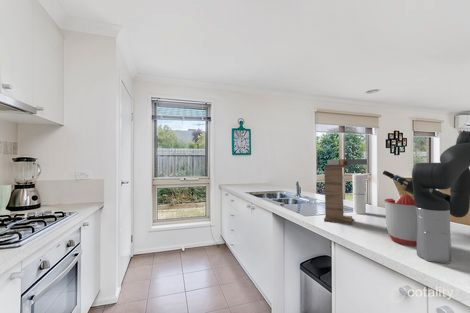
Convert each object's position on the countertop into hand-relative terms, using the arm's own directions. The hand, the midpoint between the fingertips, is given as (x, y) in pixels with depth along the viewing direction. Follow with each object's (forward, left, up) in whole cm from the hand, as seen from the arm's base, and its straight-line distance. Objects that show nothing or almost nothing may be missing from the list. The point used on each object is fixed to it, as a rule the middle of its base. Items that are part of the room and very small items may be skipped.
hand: (384, 172), depth 121 cm
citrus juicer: (-25, -5, -28) cm, 38 cm away
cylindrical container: (+25, +12, -28) cm, 39 cm away
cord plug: (0, +18, +4) cm, 18 cm away
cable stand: (0, +23, -28) cm, 36 cm away
